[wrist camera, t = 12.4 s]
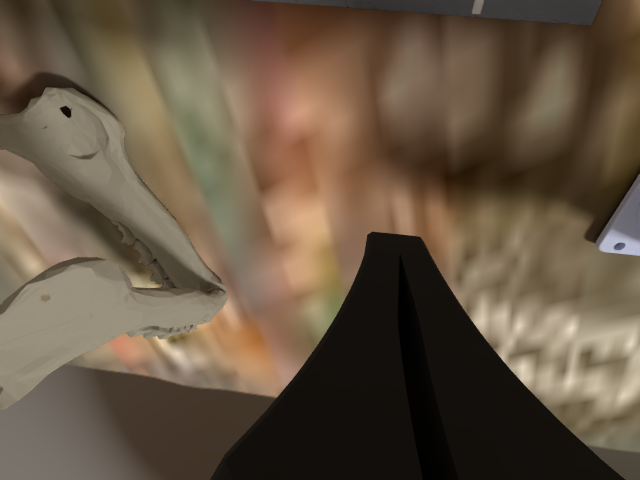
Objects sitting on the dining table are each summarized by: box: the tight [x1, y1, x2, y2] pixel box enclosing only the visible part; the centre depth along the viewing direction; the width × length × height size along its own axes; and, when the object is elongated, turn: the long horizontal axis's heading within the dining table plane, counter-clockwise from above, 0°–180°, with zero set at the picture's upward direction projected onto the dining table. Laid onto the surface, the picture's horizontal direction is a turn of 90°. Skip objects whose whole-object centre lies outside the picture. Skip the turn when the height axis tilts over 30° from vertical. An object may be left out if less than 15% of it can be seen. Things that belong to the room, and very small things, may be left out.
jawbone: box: [0, 87, 228, 409], centre depth 21 cm, size 14×8×15 cm
